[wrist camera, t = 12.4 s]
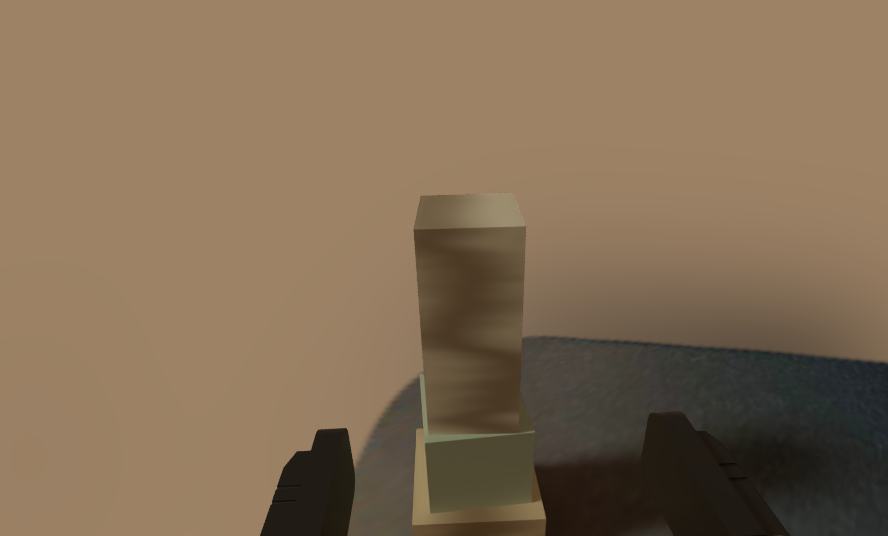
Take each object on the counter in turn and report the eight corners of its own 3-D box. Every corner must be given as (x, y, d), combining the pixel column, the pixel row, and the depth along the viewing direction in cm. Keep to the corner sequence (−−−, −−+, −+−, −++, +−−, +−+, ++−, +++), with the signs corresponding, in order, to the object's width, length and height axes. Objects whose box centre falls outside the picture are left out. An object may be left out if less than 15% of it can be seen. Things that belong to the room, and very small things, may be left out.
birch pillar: (509, 376, 28) (513, 193, 24) (518, 433, 24) (526, 226, 19) (432, 377, 28) (420, 195, 24) (428, 434, 24) (413, 229, 20)
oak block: (522, 479, 34) (523, 423, 32) (542, 580, 28) (546, 519, 25) (421, 483, 34) (416, 428, 32) (418, 585, 28) (412, 525, 25)
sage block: (509, 429, 31) (511, 366, 29) (531, 502, 26) (535, 432, 24) (424, 438, 31) (419, 374, 29) (430, 513, 26) (424, 443, 24)
